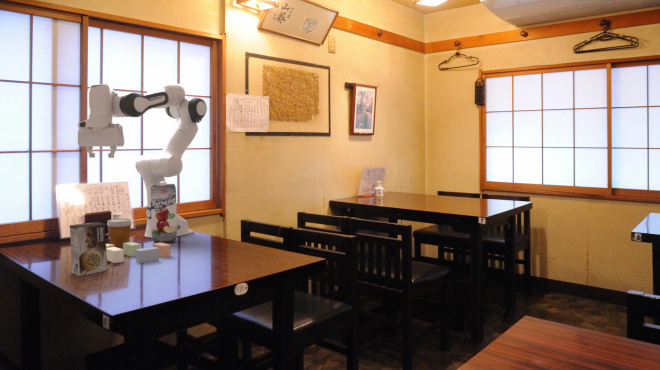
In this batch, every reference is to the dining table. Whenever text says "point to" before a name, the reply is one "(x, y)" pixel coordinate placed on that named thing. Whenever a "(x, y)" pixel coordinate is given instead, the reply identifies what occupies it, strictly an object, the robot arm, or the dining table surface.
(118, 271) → the dining table surface
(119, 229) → the disposable coffee cup
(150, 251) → the slate block
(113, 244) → the mustard block
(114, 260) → the cream block
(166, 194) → the juice carton
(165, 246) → the terracotta block
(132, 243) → the green block
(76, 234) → the food box
